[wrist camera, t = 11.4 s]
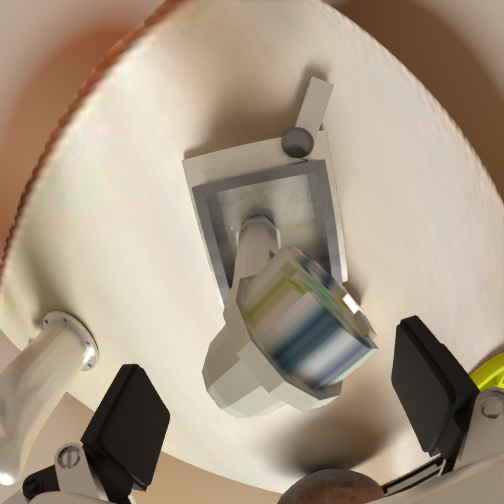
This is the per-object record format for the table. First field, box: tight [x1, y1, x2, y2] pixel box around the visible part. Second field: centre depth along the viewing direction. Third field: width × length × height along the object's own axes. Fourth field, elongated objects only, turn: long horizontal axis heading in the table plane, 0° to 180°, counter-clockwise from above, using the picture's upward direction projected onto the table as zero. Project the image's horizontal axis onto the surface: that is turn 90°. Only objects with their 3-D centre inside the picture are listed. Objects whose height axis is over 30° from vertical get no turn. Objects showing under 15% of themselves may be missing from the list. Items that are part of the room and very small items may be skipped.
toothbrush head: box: [202, 215, 379, 418], centre depth 19 cm, size 5×7×25 cm
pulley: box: [470, 352, 504, 391], centre depth 41 cm, size 28×28×5 cm
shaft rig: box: [182, 76, 366, 316], centre depth 28 cm, size 18×30×7 cm, turn 12°
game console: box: [382, 457, 444, 497], centre depth 54 cm, size 21×32×8 cm, turn 131°
